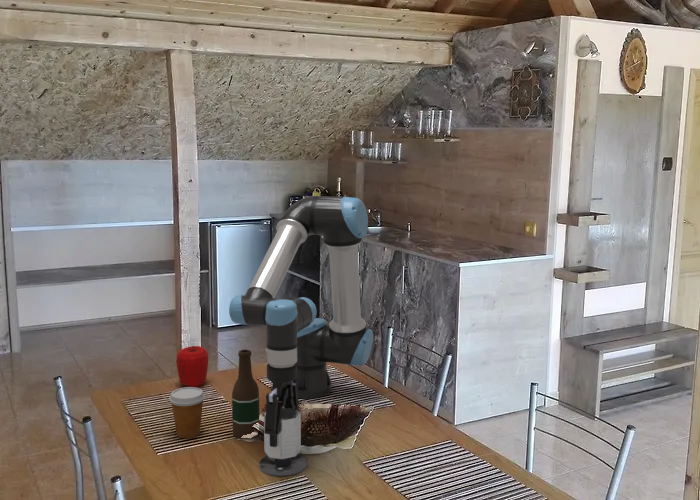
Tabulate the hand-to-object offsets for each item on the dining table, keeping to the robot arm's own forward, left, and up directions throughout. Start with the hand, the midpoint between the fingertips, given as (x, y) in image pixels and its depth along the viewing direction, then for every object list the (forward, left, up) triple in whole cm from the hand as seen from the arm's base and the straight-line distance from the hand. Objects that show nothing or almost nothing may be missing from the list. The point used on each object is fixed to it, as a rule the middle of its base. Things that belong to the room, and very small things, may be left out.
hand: (282, 449), depth 177 cm
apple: (+2, -66, -4) cm, 66 cm away
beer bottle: (+1, -22, -4) cm, 22 cm away
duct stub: (0, 0, -4) cm, 4 cm away
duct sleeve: (0, 0, 0) cm, 0 cm away
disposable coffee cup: (+15, -30, -4) cm, 34 cm away
